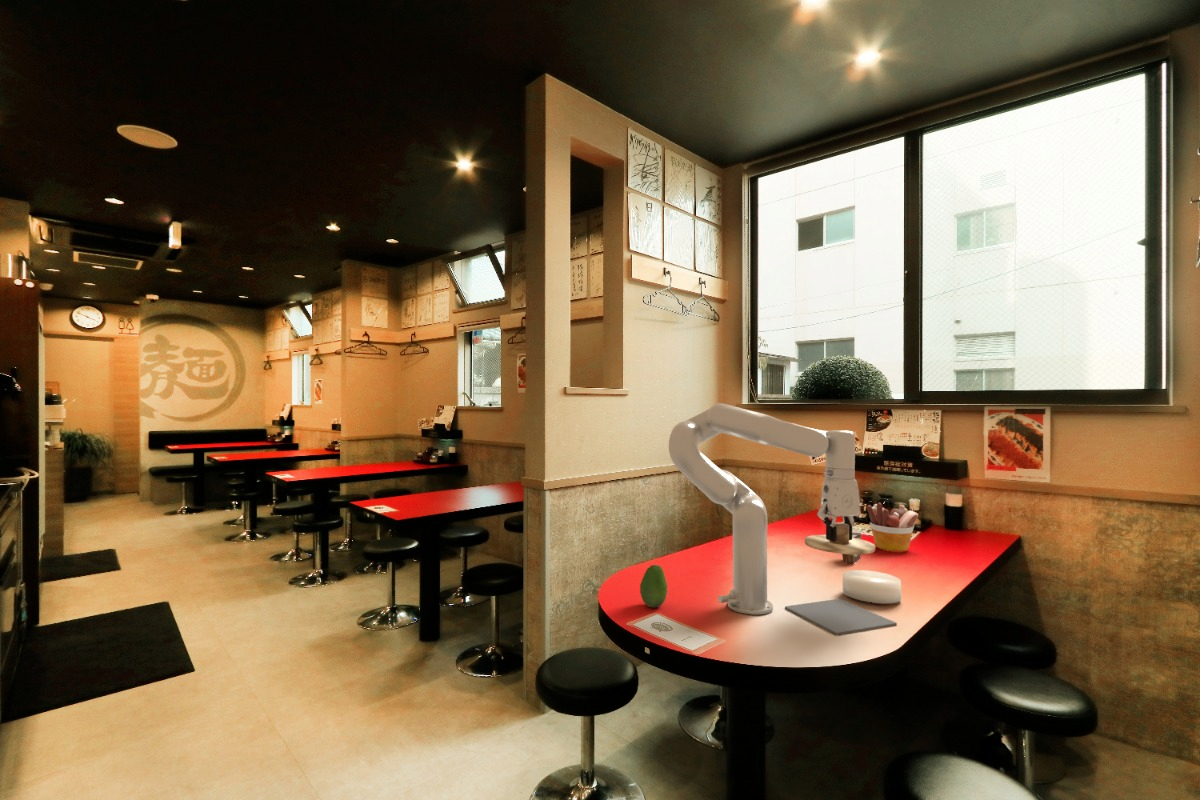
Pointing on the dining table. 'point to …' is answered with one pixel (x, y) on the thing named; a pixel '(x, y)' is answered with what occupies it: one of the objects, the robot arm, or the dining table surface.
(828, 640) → the dining table surface
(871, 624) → the rubber mat
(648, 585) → the avocado
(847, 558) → the food container
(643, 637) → the dining table surface
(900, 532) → the bucket of meat
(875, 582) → the ceramic bowl
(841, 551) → the bamboo lid
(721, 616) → the dining table surface
